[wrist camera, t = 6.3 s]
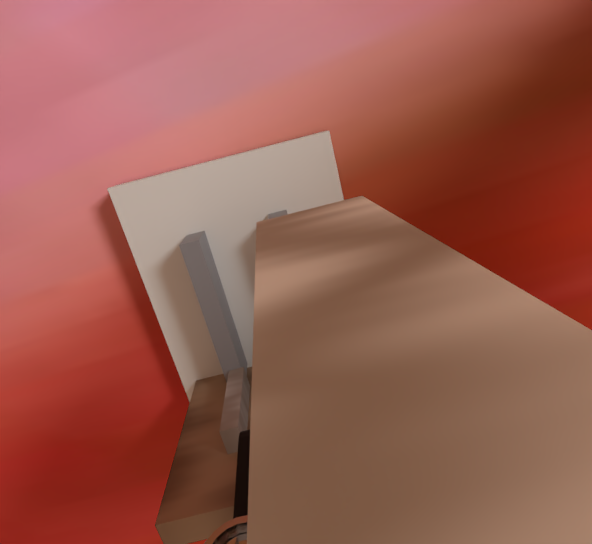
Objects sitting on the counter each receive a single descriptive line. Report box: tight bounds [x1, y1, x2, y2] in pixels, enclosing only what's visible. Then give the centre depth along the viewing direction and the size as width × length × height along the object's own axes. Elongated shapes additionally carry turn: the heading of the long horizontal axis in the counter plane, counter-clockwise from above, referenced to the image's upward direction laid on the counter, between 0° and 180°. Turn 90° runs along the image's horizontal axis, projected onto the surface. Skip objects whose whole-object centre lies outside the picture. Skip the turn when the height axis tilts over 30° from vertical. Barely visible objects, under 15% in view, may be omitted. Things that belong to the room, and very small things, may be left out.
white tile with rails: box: [107, 131, 344, 402], centre depth 29 cm, size 14×18×4 cm
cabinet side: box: [155, 367, 252, 544], centre depth 25 cm, size 12×3×12 cm, turn 104°
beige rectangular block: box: [247, 196, 592, 544], centre depth 8 cm, size 3×9×11 cm, turn 14°
